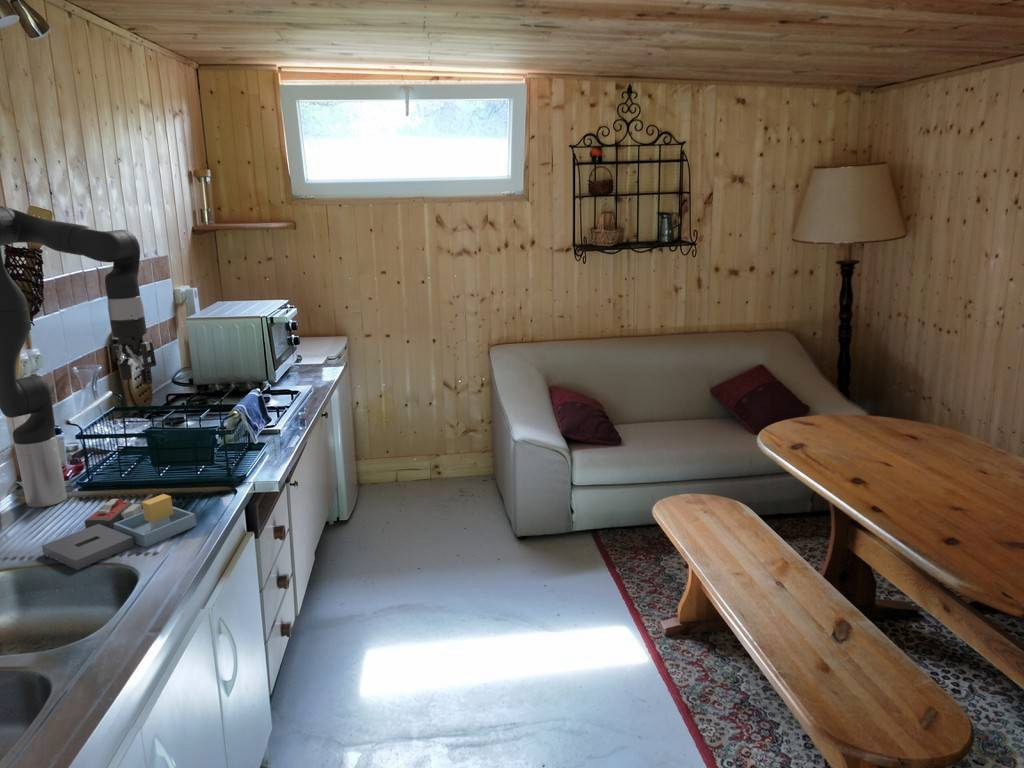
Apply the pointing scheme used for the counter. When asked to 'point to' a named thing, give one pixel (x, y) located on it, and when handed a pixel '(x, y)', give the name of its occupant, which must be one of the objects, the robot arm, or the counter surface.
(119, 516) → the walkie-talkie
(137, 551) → the counter surface
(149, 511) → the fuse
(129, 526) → the tray
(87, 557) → the grey slotted base
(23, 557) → the counter surface
